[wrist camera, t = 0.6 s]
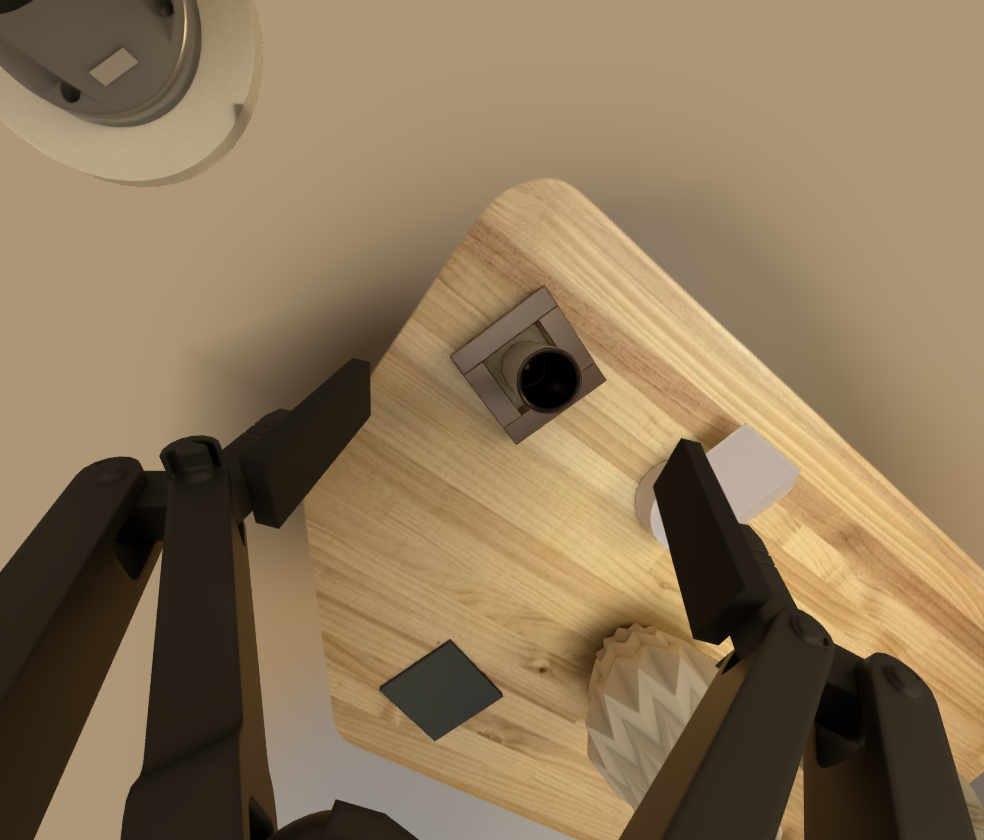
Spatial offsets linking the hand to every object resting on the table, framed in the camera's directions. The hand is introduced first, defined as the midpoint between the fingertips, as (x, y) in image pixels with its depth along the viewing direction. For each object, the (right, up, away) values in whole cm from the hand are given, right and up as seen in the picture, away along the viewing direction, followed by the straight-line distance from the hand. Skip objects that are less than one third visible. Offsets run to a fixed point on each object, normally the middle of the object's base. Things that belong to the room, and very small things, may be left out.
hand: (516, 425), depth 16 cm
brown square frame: (+2, +5, +19) cm, 20 cm away
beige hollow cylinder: (+2, +5, +19) cm, 20 cm away
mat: (-7, -31, +27) cm, 42 cm away
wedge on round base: (+20, -7, +23) cm, 32 cm away
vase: (+15, -27, +28) cm, 42 cm away
